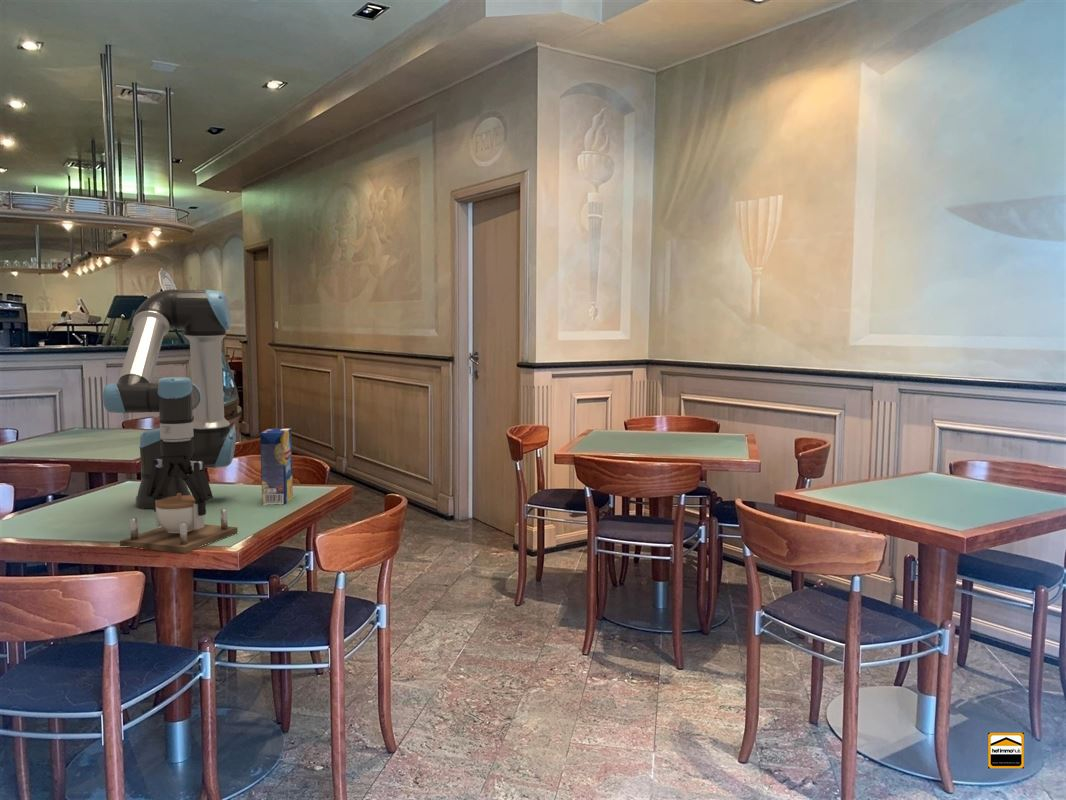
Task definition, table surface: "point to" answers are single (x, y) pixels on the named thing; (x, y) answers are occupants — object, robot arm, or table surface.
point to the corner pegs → (182, 527)
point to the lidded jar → (176, 512)
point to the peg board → (178, 539)
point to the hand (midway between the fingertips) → (180, 526)
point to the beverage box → (276, 466)
